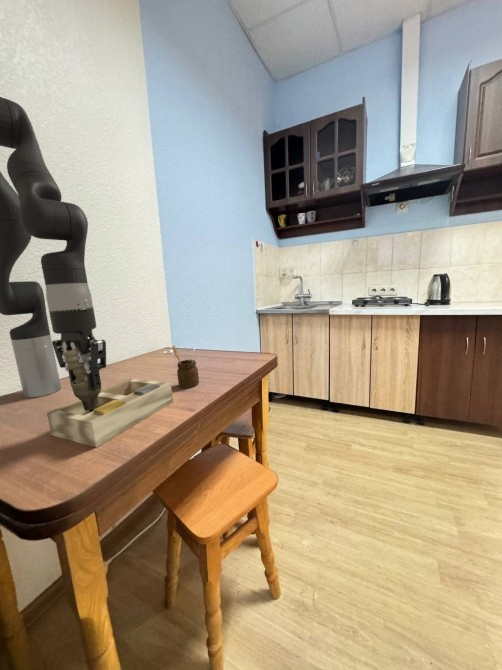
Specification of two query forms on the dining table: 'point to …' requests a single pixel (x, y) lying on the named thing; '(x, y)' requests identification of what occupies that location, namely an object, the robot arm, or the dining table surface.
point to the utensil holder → (187, 371)
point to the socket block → (110, 412)
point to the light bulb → (81, 381)
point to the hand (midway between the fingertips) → (86, 387)
